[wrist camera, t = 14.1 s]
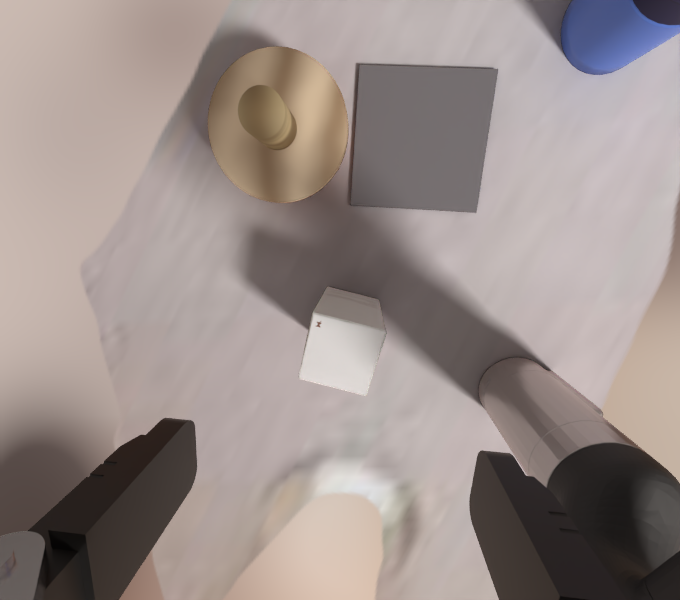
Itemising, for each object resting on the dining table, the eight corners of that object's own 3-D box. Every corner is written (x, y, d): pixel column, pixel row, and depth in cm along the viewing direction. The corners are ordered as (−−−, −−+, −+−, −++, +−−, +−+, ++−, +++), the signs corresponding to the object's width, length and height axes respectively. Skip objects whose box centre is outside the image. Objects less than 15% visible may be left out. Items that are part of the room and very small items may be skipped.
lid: (353, 55, 31) (350, 15, 25) (344, 206, 35) (339, 203, 29) (210, 50, 32) (175, 11, 26) (215, 199, 36) (184, 194, 30)
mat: (496, 71, 36) (498, 69, 36) (474, 212, 40) (476, 212, 39) (359, 66, 37) (359, 64, 36) (350, 205, 40) (350, 205, 40)
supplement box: (313, 336, 45) (294, 379, 33) (327, 284, 43) (311, 309, 31) (366, 350, 45) (366, 399, 32) (381, 299, 43) (388, 330, 31)
